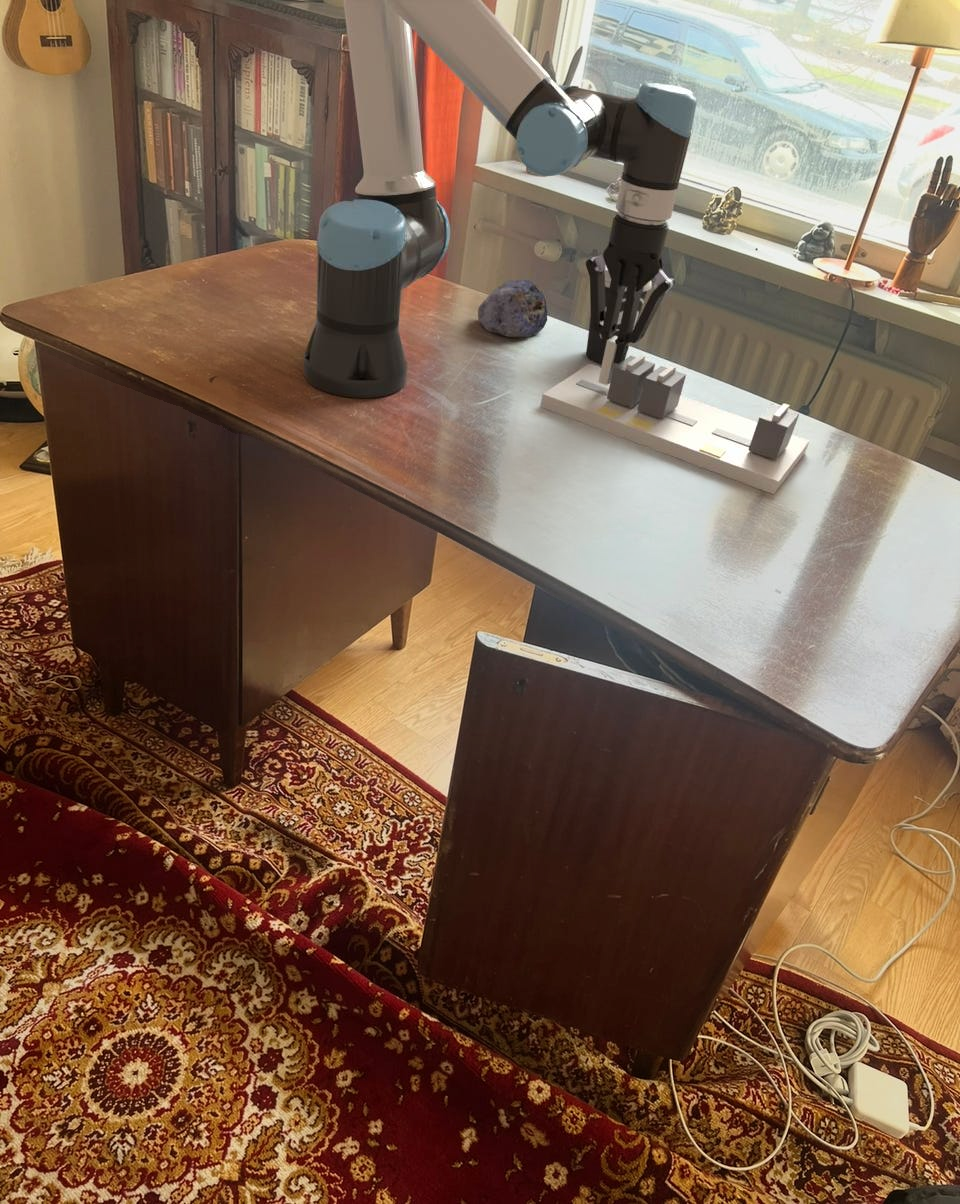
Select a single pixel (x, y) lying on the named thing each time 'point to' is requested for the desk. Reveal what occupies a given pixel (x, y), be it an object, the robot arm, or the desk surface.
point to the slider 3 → (773, 431)
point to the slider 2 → (661, 391)
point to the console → (677, 431)
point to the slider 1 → (629, 380)
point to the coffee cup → (595, 336)
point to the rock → (514, 310)
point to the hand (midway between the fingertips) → (606, 381)
